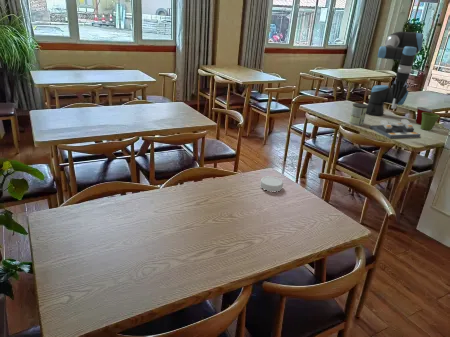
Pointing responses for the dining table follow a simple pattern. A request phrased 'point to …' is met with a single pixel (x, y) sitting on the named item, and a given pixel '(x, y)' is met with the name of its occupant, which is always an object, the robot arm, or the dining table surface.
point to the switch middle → (396, 124)
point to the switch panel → (395, 131)
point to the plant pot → (428, 120)
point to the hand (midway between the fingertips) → (393, 108)
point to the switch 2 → (406, 123)
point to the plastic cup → (419, 114)
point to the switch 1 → (385, 124)
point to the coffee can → (358, 114)
